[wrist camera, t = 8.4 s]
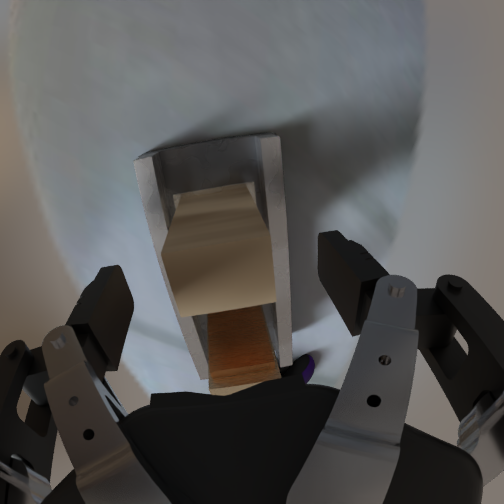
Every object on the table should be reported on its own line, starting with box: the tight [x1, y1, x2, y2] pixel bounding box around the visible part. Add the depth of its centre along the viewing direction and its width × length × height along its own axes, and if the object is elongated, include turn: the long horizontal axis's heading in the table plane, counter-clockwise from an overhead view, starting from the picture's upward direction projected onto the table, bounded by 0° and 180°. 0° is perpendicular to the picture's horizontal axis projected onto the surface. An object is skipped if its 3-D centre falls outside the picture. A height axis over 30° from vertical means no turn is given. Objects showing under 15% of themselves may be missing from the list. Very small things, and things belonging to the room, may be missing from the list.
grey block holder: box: [133, 132, 292, 396], centre depth 16 cm, size 17×8×8 cm, turn 6°
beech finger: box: [161, 187, 277, 317], centre depth 14 cm, size 4×4×7 cm
